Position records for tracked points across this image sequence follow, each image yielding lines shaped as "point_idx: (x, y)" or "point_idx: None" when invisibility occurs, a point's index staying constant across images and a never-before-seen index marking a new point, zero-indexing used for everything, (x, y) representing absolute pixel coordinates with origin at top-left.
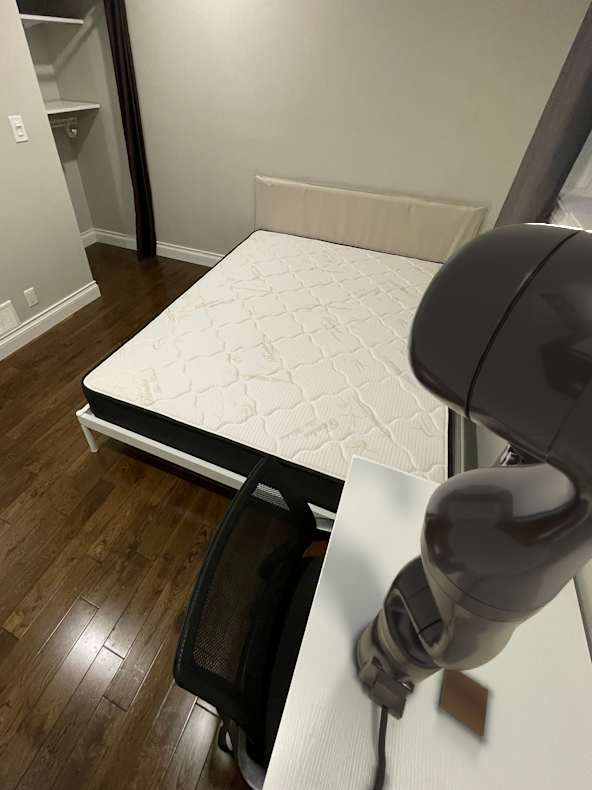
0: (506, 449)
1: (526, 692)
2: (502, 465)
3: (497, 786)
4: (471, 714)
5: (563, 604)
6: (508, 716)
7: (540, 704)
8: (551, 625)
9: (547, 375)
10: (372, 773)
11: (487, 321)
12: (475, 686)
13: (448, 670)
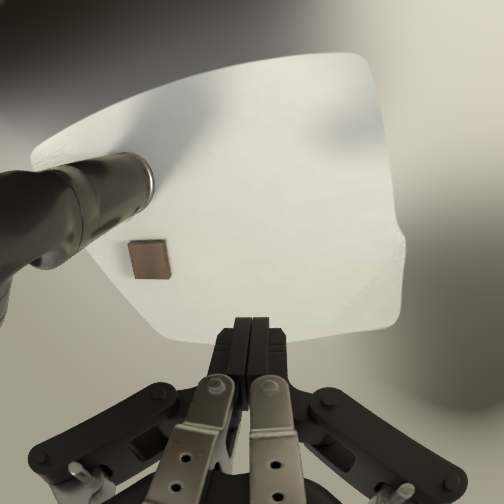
0: (367, 442)
1: (197, 307)
2: (198, 462)
3: (121, 289)
4: (140, 268)
5: (307, 333)
6: (167, 294)
7: (196, 317)
8: (277, 325)
9: None
10: None
11: None
12: (162, 268)
13: (156, 243)
